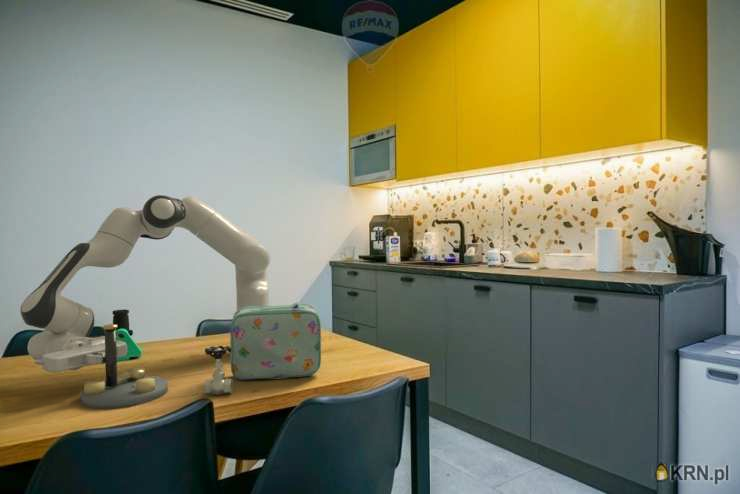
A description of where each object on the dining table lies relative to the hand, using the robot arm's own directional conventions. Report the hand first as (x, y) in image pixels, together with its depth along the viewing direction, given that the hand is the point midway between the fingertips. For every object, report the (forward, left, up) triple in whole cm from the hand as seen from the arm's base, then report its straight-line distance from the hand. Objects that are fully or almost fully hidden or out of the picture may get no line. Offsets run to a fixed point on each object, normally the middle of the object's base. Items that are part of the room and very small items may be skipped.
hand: (105, 359), depth 122 cm
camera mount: (+12, -41, -10) cm, 43 cm away
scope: (+18, -56, -10) cm, 60 cm away
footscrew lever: (-3, -4, -7) cm, 9 cm away
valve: (-29, +3, -10) cm, 31 cm away
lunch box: (-43, -12, -10) cm, 46 cm away
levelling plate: (-5, 0, -9) cm, 11 cm away
